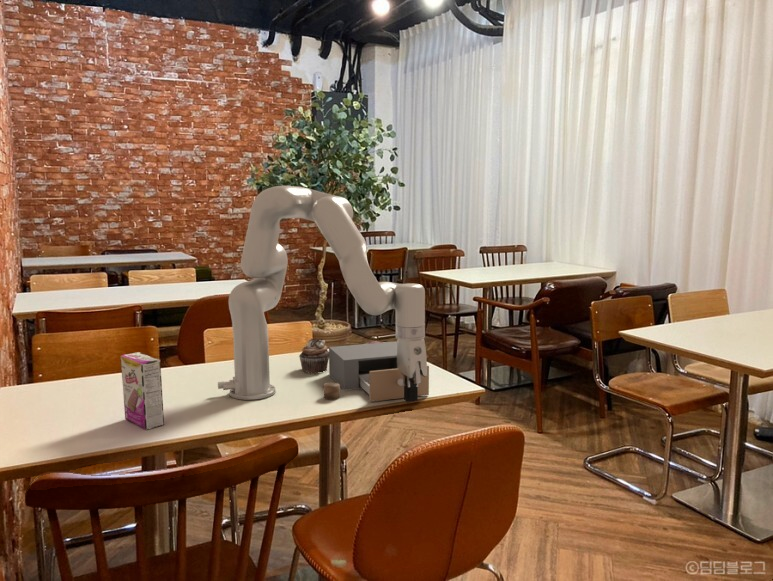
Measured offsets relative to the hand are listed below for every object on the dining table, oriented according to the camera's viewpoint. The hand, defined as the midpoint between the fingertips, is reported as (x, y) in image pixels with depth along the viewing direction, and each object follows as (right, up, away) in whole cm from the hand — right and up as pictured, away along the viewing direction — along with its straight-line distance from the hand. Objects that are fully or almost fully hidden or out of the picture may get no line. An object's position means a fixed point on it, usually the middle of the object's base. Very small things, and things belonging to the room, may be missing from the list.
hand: (410, 400), depth 158 cm
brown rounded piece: (-21, -1, +9) cm, 23 cm away
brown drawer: (-5, 0, +14) cm, 15 cm away
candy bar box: (-65, -4, -10) cm, 66 cm away
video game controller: (-10, +5, +50) cm, 52 cm away
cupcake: (-29, +3, +36) cm, 47 cm away
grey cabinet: (-10, +2, +26) cm, 28 cm away
